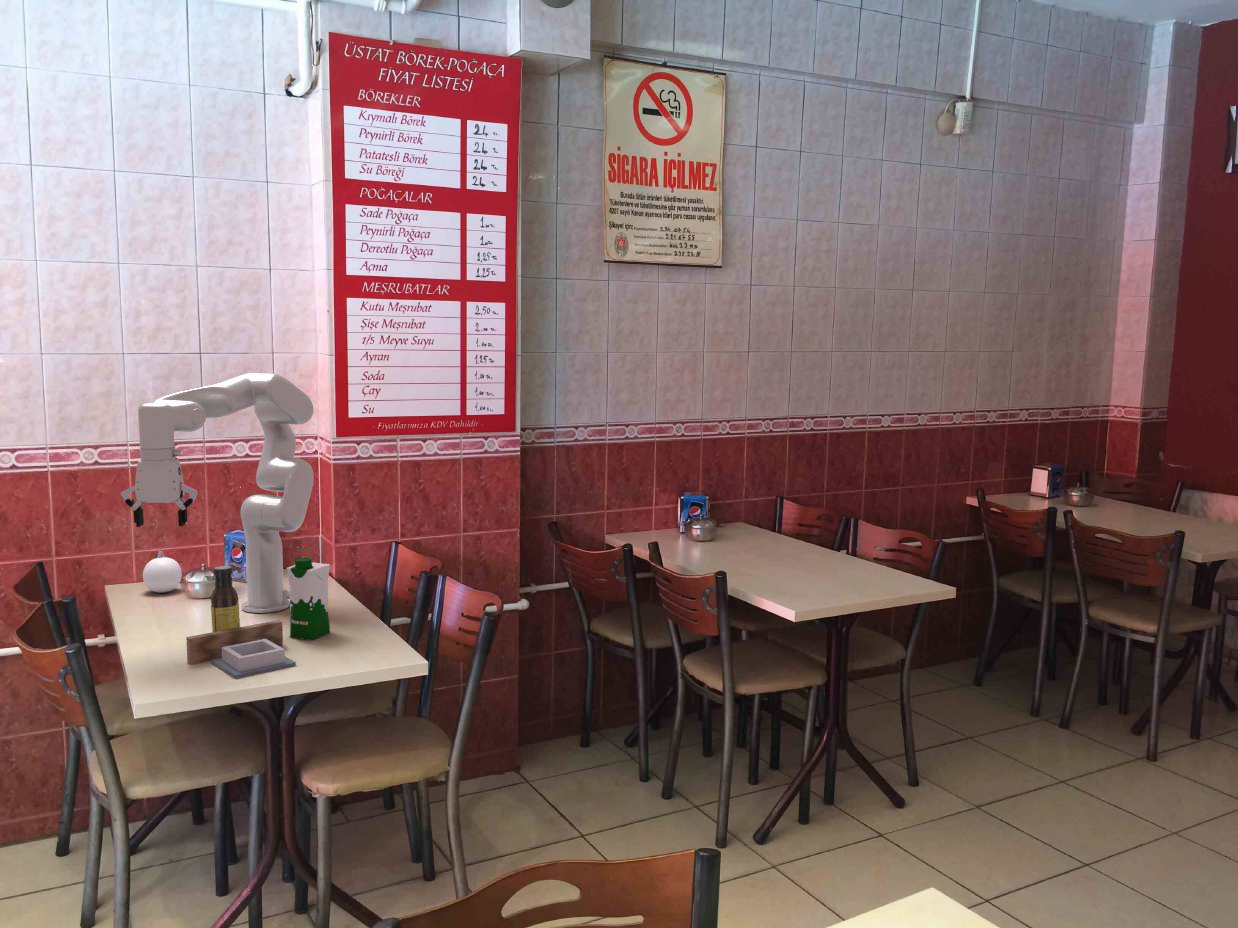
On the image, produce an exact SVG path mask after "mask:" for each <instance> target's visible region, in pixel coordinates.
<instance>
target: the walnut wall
mask: <svg viewBox="0 0 1238 928" xmlns="http://www.w3.org/2000/svg"><path fill="white" fill-rule="evenodd" d="M283 631H284V630H283V621H281V620H280V619H279V620H273V621H266V622H261V623H256V624H250V625H246V626H245V625H244V626H240V627H239V628H233V629H228V630H222V631H217V632H207V633H201V634H197V635H196V634H195V635H191V636H190V635H189V636H186V637H185V639H186V659H187V660H186V661H187V664H189V665H195V664H200V663H205V662H210V661H211V660H212V659H217V658H222V647H226V646H231V645H237V644H242V643H247V642H252V641H257V640H262V639H267V640H269V641H271V642H272V643H274V644H276V645H278V646H280V647H283V646H284V641H283V640H284V636H283Z"/></svg>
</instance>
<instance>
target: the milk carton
mask: <svg viewBox="0 0 1238 928" xmlns="http://www.w3.org/2000/svg"><path fill="white" fill-rule="evenodd" d="M330 569H331V564H329V563H323V562H322V563H321V562H320V563H319V562H313V559H312V558H311V557H299V558H296V559H295V560H294V565H291V566H289V567H288V566H287V567H286V572H287V573H286V574H287V577H288V581H289V590H290V599H289V602H290V606H289V609H290V611H289V612H290V613H289V614H290V616H289V617H290V618H289V621H290V622H289V626H290V627H289V637H290V638H293V639H300V640H309V641H316V640H317V639H319V638H322V637H325V636H326V635H329V634H330V633H331V626H330V617H329V590H328V588H329V587H328V585H329V584H328V582H329V575H330Z"/></svg>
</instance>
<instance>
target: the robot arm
mask: <svg viewBox="0 0 1238 928" xmlns="http://www.w3.org/2000/svg"><path fill="white" fill-rule="evenodd" d="M250 407H253V409H254V413H255V415H256V418H257V419H258V421H259V423H260V425H261V427H262V429H263V430H262V431H263V434H264V442H263V446H262V451H261V455H260V458H259V461H258V466H257V469H256V475H255V482H256V483H255V484H256V485H257V486H258V487H259V488H260V489H262V490H265V491H269V492H276V493H277V492H278V493H283V495H272V494H253V495H250V496H248V497H247V498H246V499H244V501H243V502H242V505H241V507H240V519H241V524H242V527H243V532H244V539H245V560H246V562H245V563H246V569H245V570H246V593H247V595H246V596H247V597H246V598H247V599H246V600H247V601H245V602H243V603H241V610H242V611H244V612H246V613H253V614H256V613H257V614H262V613H263V614H265V613H274V612H279V611H283V610H286V609H287V608H290V589H286V588H284V565H283V564H284V561H283V559H284V558H283V552H284V551H283V542H282V538H281V536H280V533H279V532H287V533H293V532H296V531H297V530H298V529H300V527H301V526H302V525H303V523H304V521H305V518H306V515H307V511H308V506H309V503H310V498H311V495H312V490H313V488H314V487H313V486H314V481H315V480H314V478H315V477H314V470H313V467H312V465H311V464H310V463H309V462H308V461H306V460H305V459H301V458H295V453H296V448H297V438H296V435H295V433H294V431H293V429H292V428H291V425H304V424H306V423H308V422H309V421H310V420H311V419H312V417H313V414H314V405H313V401H312V400H311V398H310V397H309V396H308V395H307V394H306V393H305V392H304V391H302V390H301V388H299V387H297V386H296V385H295V384H294V383H292V382H291V381H290V380H288V379H287V378H286V377H284V376H282V375H280V374H278V373H269V372H249V373H248V372H247V373H243V374H241V375H238V376H235V377H232V378H229V379H227V380H225V381H222V382H218V383H215V384H212V385H206V386H202V387H197V388H193V389H189V390H184V391H179V392H175V393H172V394H169V395H165V396H162V397H160V398H158V399H156V400H154V401H153V402H150V403H143V404H141V405H139V407H138V410H137V411H138V412H137V413H138V414H137V415H138V432H139V450H140V451H139V453H140V454H139V455H140V459H139V460H138V461H137V464H136V470H135V471H136V472H135V482H134V485H132V486H130V487H128V488H127V489H124V490H122V491H121V492H120V496H121V497H122V499H123V500H124V503H125V504H126V505H127V506H129V507H130V508H131V511H132V512H133V523H134V524H135V527H136V528H140V527H142V526H143V525H144V523H145V522H144V521H145V519H144V509H143V508H142V506H143V505H144V504H147V503H148V504H149V503H150V504H151V503H152V504H154V503H155V504H157V503H163V504H165V503H174V504H175V505H176V507H178V508H179V510H177V517H178V519H177V520H178V521H177V523H178V527H184V526H185V525H186V523H187V522H188V508H189V507H190V506H191V505H192V504H193V503H194V502H195V500H196V498H197V496H198V494H199V491H198V490H197V489H195V488H193V487H190V486H188V485H186V484H184V478H183V472H182V471H183V470H182V466H181V462H180V460H179V459H177V457H180V456H182V450H179V449H177V448H176V446H175V433H176V432H184V433H192V432H196V431H198V430H200V429H201V428H203V426H204V425H205V423H206V421H207V419H211V418H212V419H213V418H222V417H228V416H231V415H234V414H236V413H238V412H240V411H242V410H245V409H247V408H250ZM133 492H134V493H135V494H134V495H135V500H136V501H135V500H134V499H133V498H132V497H131V494H132V493H133ZM185 493H187V494H188V495H189V497H188V499H187V500H185V499H184V498H185Z"/></svg>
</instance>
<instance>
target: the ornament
mask: <svg viewBox="0 0 1238 928" xmlns="http://www.w3.org/2000/svg"><path fill="white" fill-rule="evenodd" d="M182 573H183V572H182V567H181V566H180V564H179V563H178V562H177V561H176V560H175V559H173V558H171V557H166V556H165V554H164V551H163V550H158V553H157V558H153V559H151V560H150V561H149V562H147V563H146V565H145V566H144V568H143V571H142V580H143V584H144V585H145V586H146V588H147V589H148V590H149V591H152V592H155V593H160V594H161V593H162V594H163V593H168V592H171V591H173V590H175V589H176V588H177V587H179V585H180V583H181V580H182Z"/></svg>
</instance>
